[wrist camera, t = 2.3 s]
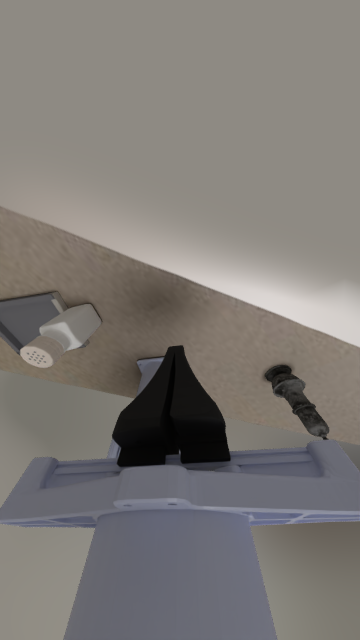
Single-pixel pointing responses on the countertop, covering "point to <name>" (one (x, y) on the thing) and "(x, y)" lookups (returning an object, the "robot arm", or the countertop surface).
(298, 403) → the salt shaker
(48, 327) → the pepper shaker
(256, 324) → the countertop surface
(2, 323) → the tray
